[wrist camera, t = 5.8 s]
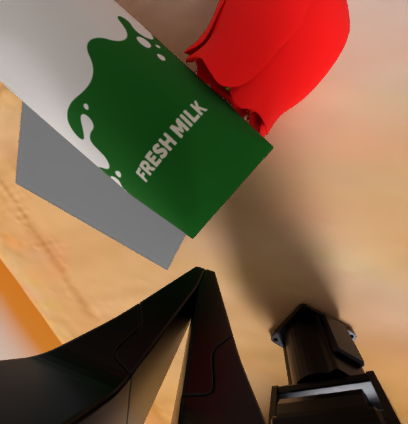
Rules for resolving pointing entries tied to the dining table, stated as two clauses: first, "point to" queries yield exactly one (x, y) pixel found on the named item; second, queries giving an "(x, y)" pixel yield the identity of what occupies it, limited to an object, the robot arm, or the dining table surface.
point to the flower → (269, 53)
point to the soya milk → (128, 105)
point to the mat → (89, 192)
